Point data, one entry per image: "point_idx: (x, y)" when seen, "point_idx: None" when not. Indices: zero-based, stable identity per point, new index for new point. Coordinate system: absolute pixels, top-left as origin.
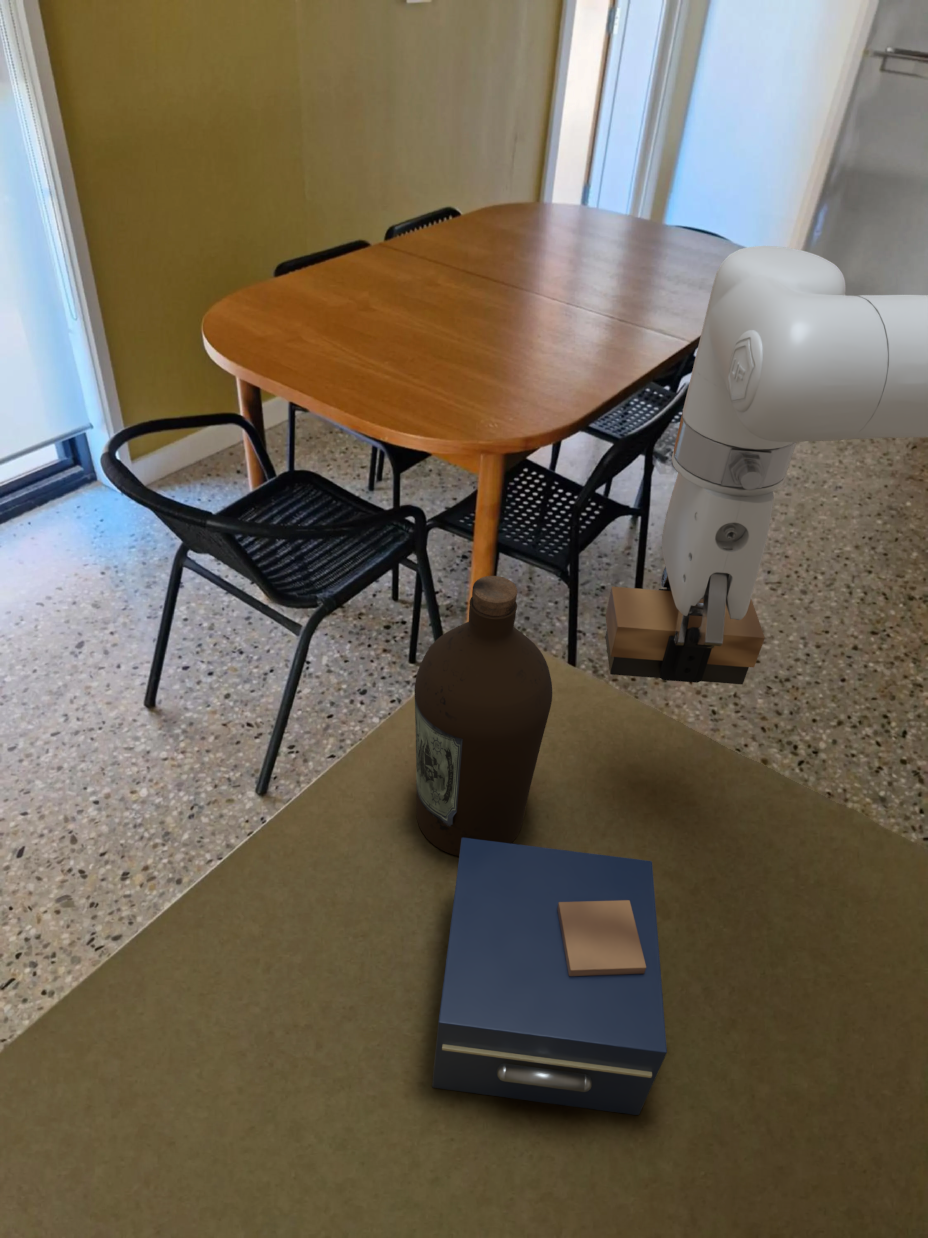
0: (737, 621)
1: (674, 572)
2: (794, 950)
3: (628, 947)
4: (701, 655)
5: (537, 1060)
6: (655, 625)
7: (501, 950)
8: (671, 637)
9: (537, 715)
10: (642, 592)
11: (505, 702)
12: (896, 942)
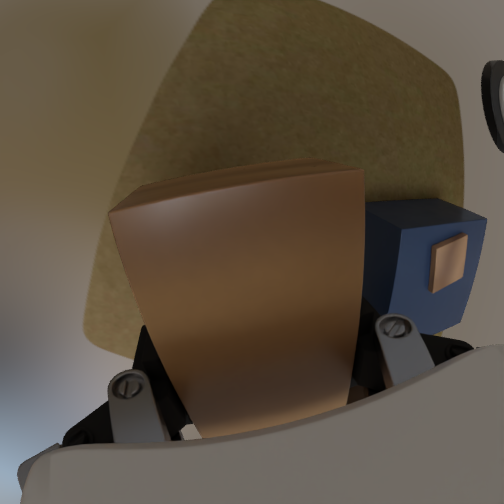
0: (290, 263)
1: None
2: (347, 83)
3: (459, 246)
4: (378, 315)
5: None
6: None
7: (442, 310)
8: (354, 384)
9: (362, 396)
10: None
11: None
12: (322, 13)
